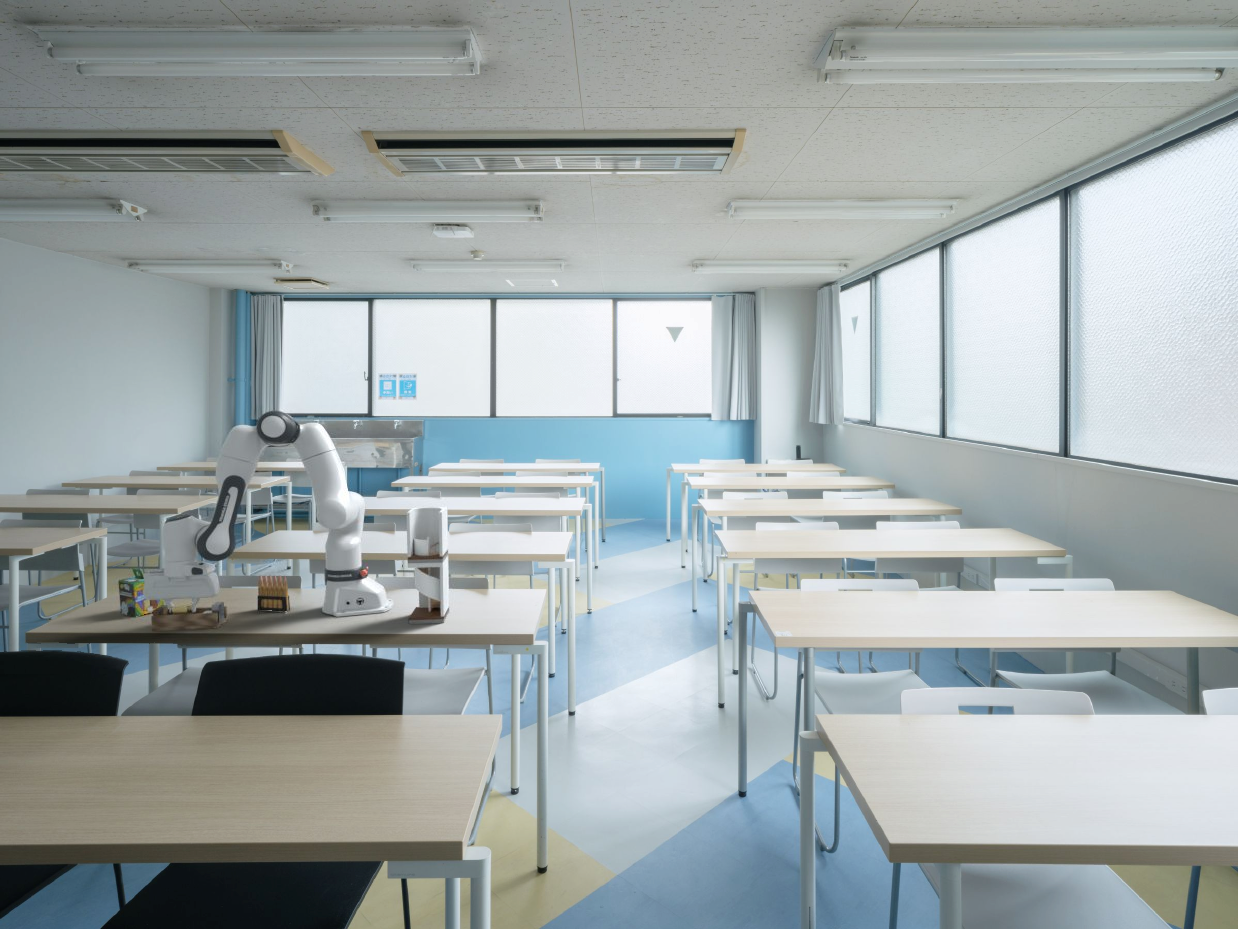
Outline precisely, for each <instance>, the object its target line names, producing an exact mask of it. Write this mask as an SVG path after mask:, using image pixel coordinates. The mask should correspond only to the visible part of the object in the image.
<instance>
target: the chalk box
mask: <svg viewBox="0 0 1238 929" xmlns="http://www.w3.org/2000/svg"><path fill="white" fill-rule="evenodd" d="M132 572H133V574H134V576H131V577H126V578H122V579H118V592H119V593H118V594H119V604H120V605H119V607H120V608H119V609H120V614H121V613H123V614H122V615H125V614H127V615H126V616H129V615H130V616H129V617H132V616H135V617H134V618H137V617H136V616H139V615H142V616H145V615H144V614H146V615H149V614H148V613H150V614H153V613H152V612H153V610H155V609H156V608H158V607H160V606H162V605H165V599H163V600H146V599H145V598H144V585H145V582H144V573H143V572H142V570H141V569H139V568H135V567H134V568H132ZM137 572H138V573H139V574H138V573H137ZM139 617H140V616H139Z"/></svg>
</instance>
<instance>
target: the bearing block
mask: <svg viewBox="0 0 1238 929" xmlns="http://www.w3.org/2000/svg"><path fill="white" fill-rule="evenodd" d="M227 607H228V606H227V605H226V606H225V605H224V616H225V619H224V620H222V621H221V622H220V623H218V613H203V612H205V611H211V610H212V606H202V607H201V606H199V607H197V606H196V611H195V612H193V614H176V615H173V613H169V608H168V606H167V605H166V604H164V605H162V606H160V607H158V608H156V609H155V610H153V613H152V615H151V618H150V619H151V620H150V621H151V631H152V632H163V631H180V630H181V629H186V630H193V629H192V628H207V629H214V628H213V627H216V628H215V629H218V628H219V627H220V626H222V625H223V624H224V623H225V622H224V621H226V620H227V621H228V609H227ZM227 621H226V622H227ZM223 622H224V623H223ZM222 623H223V624H222ZM221 624H222V625H221ZM219 625H220V626H219ZM218 626H219V627H218ZM217 627H218V628H217ZM179 629H180V630H179Z"/></svg>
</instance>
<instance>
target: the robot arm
mask: <svg viewBox="0 0 1238 929" xmlns="http://www.w3.org/2000/svg"><path fill="white" fill-rule="evenodd" d="M288 446H292V447H294V448H295V449H296V452H297V453H298V455H299V458H300V459H301V462H302V465H303V467H304V470H305V472H306V474H307V476H308V479H309V481H310V482H309V483H310V484H311V488H312V492H313V497H314V502H315V507H316V512H315V515H316V521H317V522H318V524H320V526H322V527H323V528H325V529H328V533H327V538H326V543H325V546H324V547H325V568H324V574H323V575H324V584H325V585H324V586H325V593H324V594H325V595H324V601H323V605H322V608H321V611H322V613H324V614H328V615H333V616H334V617H348V616H357V615H358V616H360V615H368V614H378V613H379V614H380V613H385V612H388V611H390V610H391V609H392V608H393V607H394V600H393V599H392V598H387V591H386V589H385V587H384V586H383V585H382V584H381V583H379V582H377V581H376V580H374V579H373V578H372V577H369V566H364V565H362V536H363V529H364V522H365V521H364V520H365V512H366V509H367V503H366V499H365V498H364V496H362V495H361V494H360V493H358V492H354V491H352V490H351V491H350V490H348V485H347V481H346V480H347V479H346V470H345V467H344V465H343V463H342V461H341V457H340V456H339V454H338V453H339V452H338V451H337V449H336V446H335V444H334V442H333V440H332V438H331V435H329V433H328V432H327V431H326V428H324V426H323V425H322V424H320V423H318V422H307V423H301V424H300V423H299V422H298V421H297V420H295V419H294V418H293V417H292V416H291V415H289V414H288V413H286V412H283V411H280V410H269V411H266V412H265V413H263V414H261V415H260V416H259V417H258V420H256V425H253V426H252V425H248V424H239V425H235V426H234V427H232V428H231V430H229V433H227V436H226V438H225V440H224V442H223V444H222V447H221V448H220V452H219V455H218V458H217V461H216V465H215V466H216V467H215V480H216V483H217V489H218V490H217V491H218V496H217V501H216V503H215V504H216V505H215V507H214V510H213V513H212V517H211V521H206V520H202V519H200V518H197V517H195V516H193V515H192V514H180V515H176V516H172V517H170V518H168V519H167V520H166V521H164V523H163V525H162V530H161V531H162V532H161V541H162V542H161V544H162V545H161V546H162V549H163V559H162V562H163V564H162V566H163V568H157V569H155V568H151V569H148V570H146V571H145V572H144V573H143V575H144V582H145V585H144V598H145V599H146V600H163V599H164V605H167V606H168V609H169V613H173V609H172V607H173V606H175V605H174V604H173V602H174V600H182V599H183V600H185V599H186V600H187V599H191V603H193V605H192V606H190V607H188V609H189V612H195V611H196V608H197V605H198V604H199V602H200V600H201V599H205V598H206V599H207V598H208V599H209V598H210V599H213V598H214V597H216V596H217V595H218V594H219V593H220V591H221V590H220V581H219V578H218V575H217V573H216V572H214V571H215V570H216V565H215V564H213V563H211V562H219V561H224V560H226V559H228V558H230V556H231V555H232V554H233V553H234V551H235V549H236V543H237V542H236V536H235V525H236V521H237V518H238V516H239V515H238V514H239V510H240V507H241V504H242V502H243V497H244V496H245V493H246V491H247V489H248V487H249V485H250V483H251V482H252V479H253V477H254V476H255V475H254V474H255V472H256V471H257V467H258V464H259V462H260V458H261V457H260V456H261V455H262V452H263V451H264V450H265V448H283V447H288ZM198 555H199V556H200V557H201V558H202V559H204V560H206V561H209V562H206V561H202V560H200V559H198Z"/></svg>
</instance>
